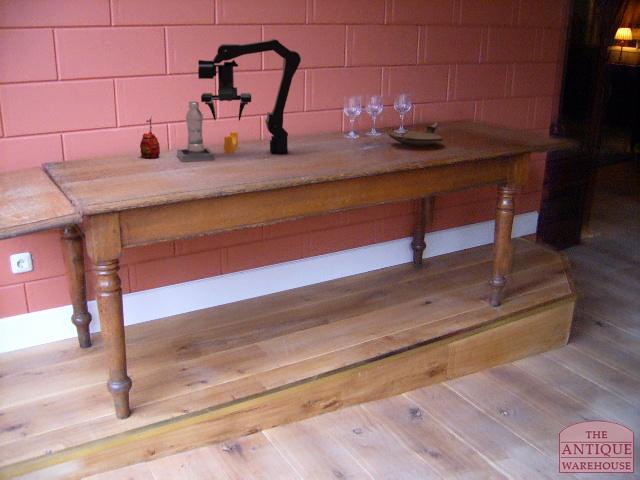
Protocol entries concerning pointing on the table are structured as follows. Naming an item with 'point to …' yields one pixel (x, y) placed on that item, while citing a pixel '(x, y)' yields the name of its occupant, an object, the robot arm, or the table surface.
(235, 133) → the orange stepped block
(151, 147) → the red clay folk toy
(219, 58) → the robot arm
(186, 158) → the tray
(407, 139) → the oil lamp
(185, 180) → the table surface
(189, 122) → the plastic bottle
